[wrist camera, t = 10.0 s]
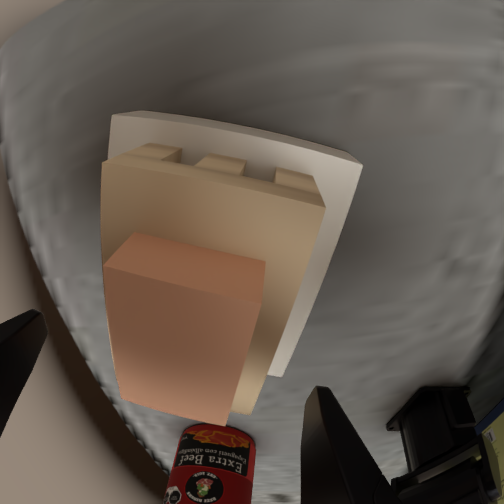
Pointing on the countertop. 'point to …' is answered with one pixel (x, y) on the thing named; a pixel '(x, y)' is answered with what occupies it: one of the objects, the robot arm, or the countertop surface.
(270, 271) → the pallet
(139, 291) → the block
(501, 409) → the protein box
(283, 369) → the white flat block
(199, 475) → the canned food
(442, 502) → the robot arm
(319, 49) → the countertop surface
